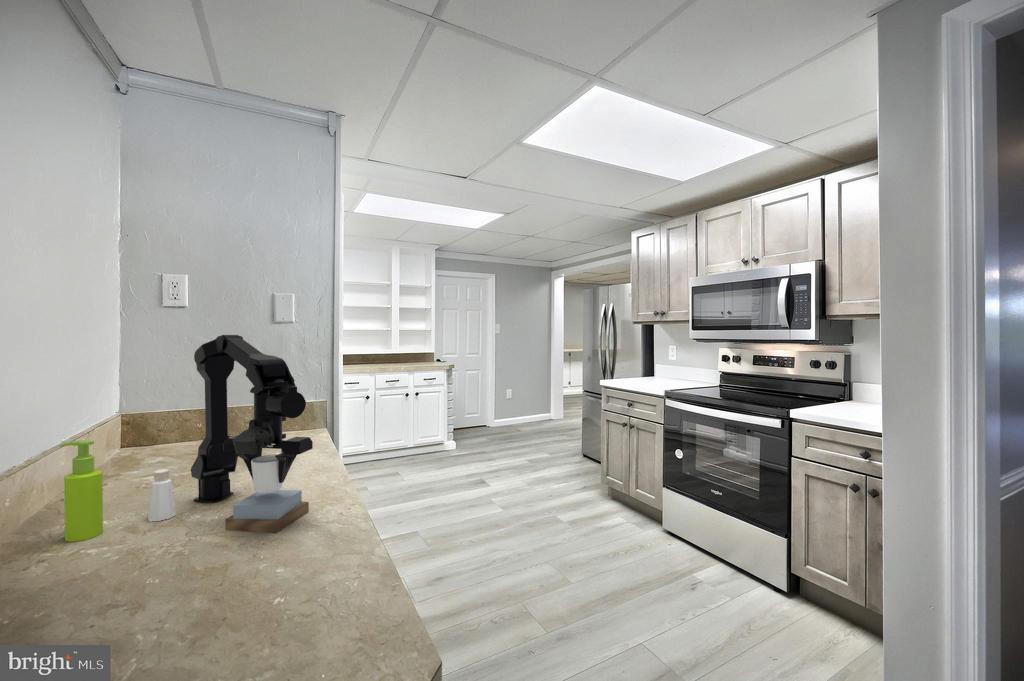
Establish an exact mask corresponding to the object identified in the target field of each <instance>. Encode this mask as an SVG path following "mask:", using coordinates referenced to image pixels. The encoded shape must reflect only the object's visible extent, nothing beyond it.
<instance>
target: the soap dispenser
mask: <svg viewBox="0 0 1024 681" xmlns="http://www.w3.org/2000/svg"><path fill="white" fill-rule="evenodd" d="M94 444H95V441H94V440H74V441H73V440H72V441H70V442H65V443H62V444H61V443H60V444H59V447H62V448H63V447H67V446H77V456H75V457H74V458H72V459H71V460H72V472H71V473H69V474H67V475H65V476H64V477H63V481H64V483H63V486H64V489H63V490H64V495H63V496H64V500H63V501H64V541H66V542H70V543H71V542H81V541H86V540H90V539H93V538H95V537H98V536H100V535H101V534H103V532H104V519H103V518H104V511H103V510H104V507H103V504H104V503H103V502H104V501H103V500H104V497H103V493H104V492H103V487H104V486H103V470H99V469H95V455H92V454H90V448H89V447H90V446H91V445H94Z"/></svg>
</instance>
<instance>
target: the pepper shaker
mask: <svg viewBox="0 0 1024 681" xmlns="http://www.w3.org/2000/svg"><path fill="white" fill-rule="evenodd" d="M169 472H170V469H168V468H161V469H157V470H154V472H153V475H154V481H152V482H151V484H150V491H149V492H150V493H149V502H148V509H147V510H148V512H147V520H148V521H149V523H154V522H155V521H159V522H162V521H161V520H163V521H165V520H164V519H167V520H170V519H172V518H174V517H176V516H177V511H176V504H175V495H174V488H173V483H172V480H171V479H170V477H169V475H170V473H169ZM175 515H176V516H175ZM173 516H174V517H173ZM171 517H172V518H171ZM169 518H170V519H169ZM152 521H154V522H152ZM155 523H156V522H155Z"/></svg>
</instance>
